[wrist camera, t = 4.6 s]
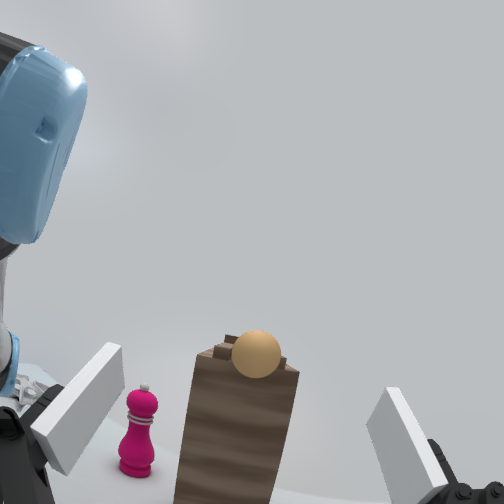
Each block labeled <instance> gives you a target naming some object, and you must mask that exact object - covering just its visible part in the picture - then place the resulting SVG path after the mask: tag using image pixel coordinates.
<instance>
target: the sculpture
mask: <svg viewBox="0 0 504 504" xmlns="http://www.w3.org/2000/svg"><path fill="white" fill-rule="evenodd" d="M15 383H17V384H20V385H21V388H20V390H17V389H16V388H14V391H13V393H12V394H11V395H10V396H11V397H16V396H17V397H19V403H20V405H25V404H30V405H33V403H34V402H36V400H37V399H38V398H39V397H41V395H42V394H43V393H44V392H45V391H46V390H47V389H48V388H49V387H48V386H46V385H43V384H41V383H39V382H36V381H33V383H31V382H29V378H28V376H26V375H20V374H17V375H16V380H15ZM28 388H30V389H32V390H34V391H35V392H36V393H37V394H36V395H30V394H28Z"/></svg>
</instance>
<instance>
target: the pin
mask: <svg viewBox="0 0 504 504" xmlns="http://www.w3.org/2000/svg"><path fill="white" fill-rule="evenodd" d="M280 359H281V350H280V346H279V344H278V342H277V340H276V339H275V338H274V337H273V336H272V335H270V334H269V333H267V332H264V331H259V330H254V331H249V332H247V333H244V334H243V335H241V336H240V337H239V338H238V339H237V340H236V341H235V343H234V345H233V348H232V361H233V363H234V366H235V367H236V369H237V370H238V371H239V372H240V373H242V374H243V375H245V376H247V377H251V378H262V377H265V376H267V375H269V374H271V373H272V372H273V371H274V370H275V369H276V368H277V366H278V365H279V362H280Z"/></svg>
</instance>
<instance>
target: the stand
mask: <svg viewBox="0 0 504 504" xmlns="http://www.w3.org/2000/svg"><path fill="white" fill-rule="evenodd" d="M238 338H239V337H236V336H230V335H225V340H224V343H221V344H218V345H215V346H214V348H212V349H209V350H207V351H204V352H202V353H199V354H197V357H196V363H195V368H194V373H193V379H192V385H191V390H190V396H189V402H188V408H187V414H186V420H185V426H184V432H183V439H182V445H181V451H180V458H179V465H178V472H177V479H176V486H175V494H174V502H173V504H269V502H270V498H271V495H272V491H273V487H274V484H275V480H276V476H277V472H278V468H279V464H280V460H281V456H282V452H283V448H284V444H285V440H286V435H287V431H288V427H289V422H290V417H291V413H292V408H293V403H294V398H295V393H296V388H297V383H298V378H299V373H300V372H299V371H297V370H295V369H294V368H292V367H290V366H289V365H287V364H286V359H287V358H285V357H283V356H281V359H280V362H279V365H278V366H277V368H276V369H275V370H274V371H273V372H272V373H271V374H269V375H267V376H265V377H262V378H251V377H247V376H245V375H243V374H242V373H240V372H239V371H238V370H237V369H236V367H235V366H234V363H233V361H232V348H233V345H234V343H235V341H236V340H237V339H238Z"/></svg>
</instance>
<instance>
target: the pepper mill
mask: <svg viewBox="0 0 504 504" xmlns="http://www.w3.org/2000/svg"><path fill="white" fill-rule="evenodd" d="M140 389H141V390H140ZM140 389H139V390H134V391H132V392H130V393H129V395H128V397H127V406H128V408H129V409H130V410H129V411H128V416H127V418H128V419H129V427H128V431H127V434H126V435H125V437H124V438H123V439H122V441H121V443H120V445H119V449H118V453H119V455H120V457H121V459H120V469H121V470H122V471H123V472H124V473H125V474H127V475H130V476H133V477H146V476H148V475H149V474H150V470H151V466H150V464H151V463H152V462H153V461H154V449H153V446H152V443H151V440H150V436H149V428H150V425H151V424H152V423H153V419H154V417H153V416H152V415H153V414H154V413H155V412H156V411H157V409H158V401H157V398H156V397H155V396H154V395H153V394H152V393H151V392H148V390H149V385H148V384H147V383H142V384H141V385H140Z"/></svg>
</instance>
